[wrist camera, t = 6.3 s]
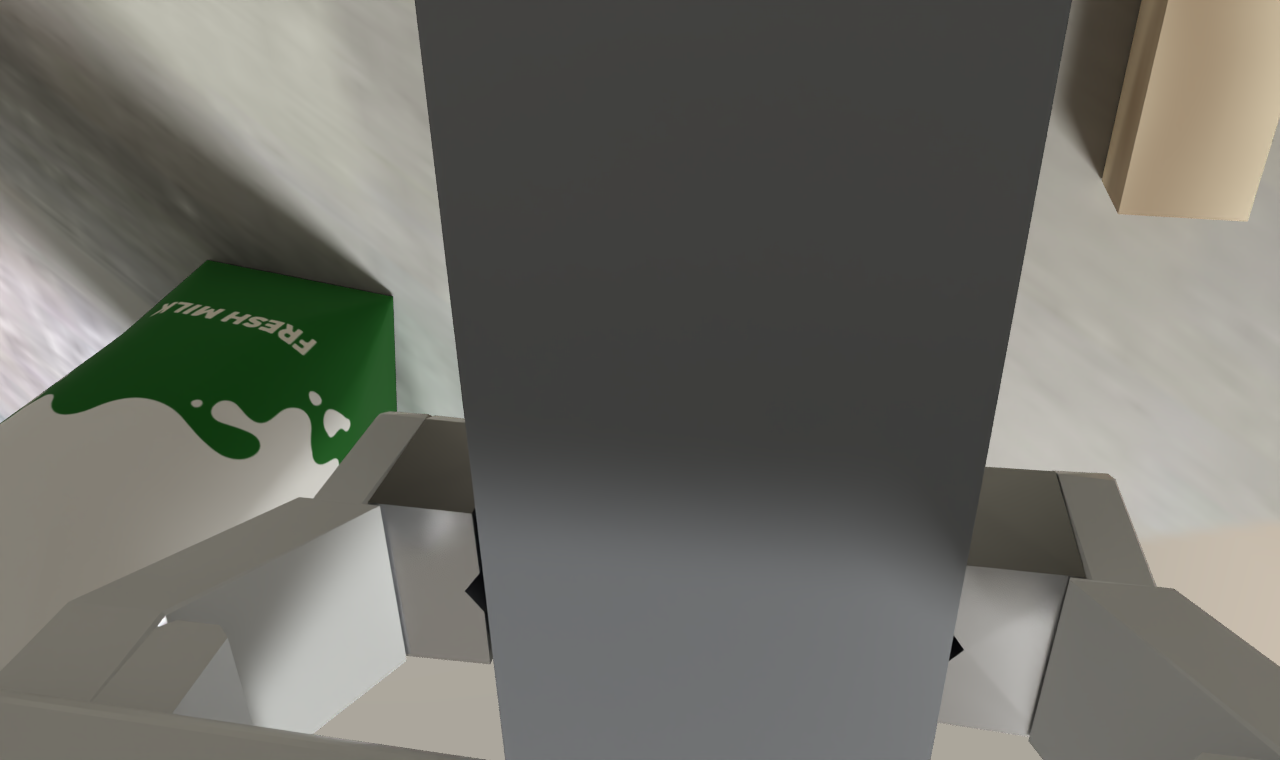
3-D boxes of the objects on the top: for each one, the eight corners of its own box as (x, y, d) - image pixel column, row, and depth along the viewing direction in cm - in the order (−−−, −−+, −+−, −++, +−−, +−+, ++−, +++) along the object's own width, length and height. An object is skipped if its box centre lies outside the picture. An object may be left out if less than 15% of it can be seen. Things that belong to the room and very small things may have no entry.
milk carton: (418, 276, 34) (-44, 764, 17) (422, 488, 39) (63, 1030, 22) (179, 229, 35) (-471, 646, 19) (212, 441, 40) (-282, 924, 23)
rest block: (1303, -102, 24) (1342, -90, 22) (1220, 186, 27) (1247, 221, 25) (1164, -102, 24) (1188, -90, 22) (1101, 180, 28) (1118, 214, 26)
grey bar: (1029, -439, 9) (1239, -724, 4) (859, 785, 17) (860, 1196, 12) (582, -416, 10) (287, -635, 5) (623, 752, 18) (530, 1128, 13)
